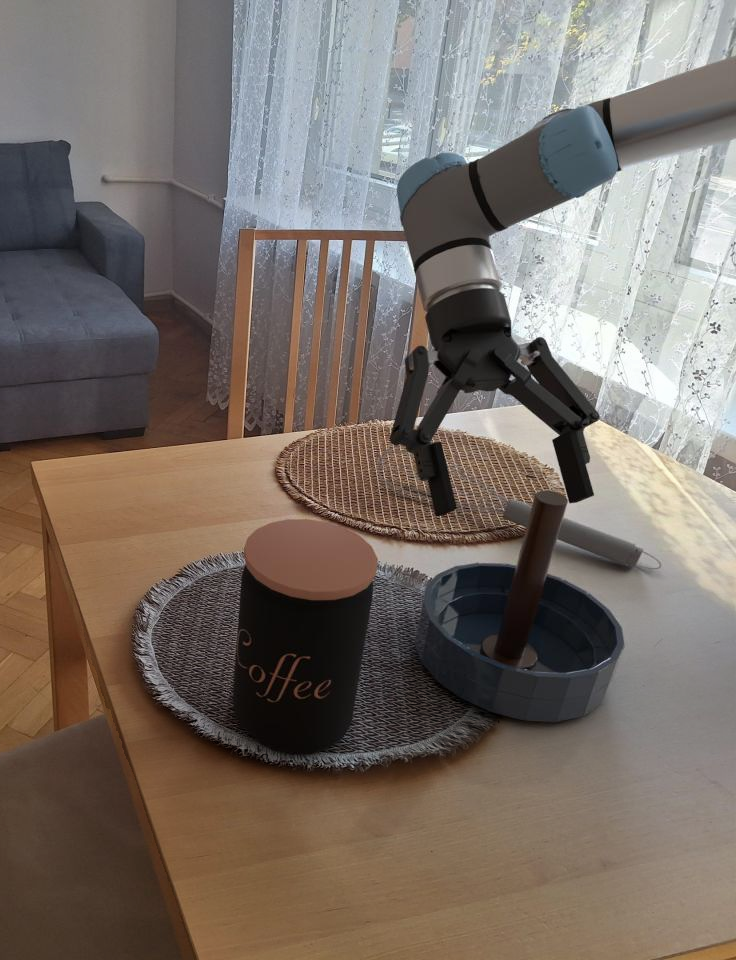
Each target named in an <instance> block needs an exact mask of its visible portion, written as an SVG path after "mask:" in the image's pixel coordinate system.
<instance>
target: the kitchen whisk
mask: <svg viewBox="0 0 736 960" xmlns="http://www.w3.org/2000/svg"><path fill="white" fill-rule="evenodd" d="M398 447H405V446H404V445H398V446H395V445H393V446H391V447H390V448H388V449H385V451H384V452H383V453H382V455H381V457H380V458H378V459H377V460H376V461H377V464H376V467H375V469H376V472H377V476H378V477H379V478H380V480H381V482H383V483H384V484H385V485H386V486H387V487H388V488H389V489H390V490H392V491H394V492H395V493H397V494H399V495H401V496H404V497H407V498H408V499H412V500H414V501H418V502H421V503H424V504H427V505H428V504H429V505H432V506H433V502H427V501H425V500H420V499H416V498H414V497H411V496H408V495H406V494H403V493H401V492H399V491H398V490H401V491H404V492H406V493H408V494H411V495H414V496H418V497H421V498H425V499H427V500H428V499H429V500H432V498H431V497H428V496H431V493H430V492H429V493H428V492H425V491H422V490H419V489H417V488H414V487H412V486H409V485H407V484H405V483H403V482H401V481H399V480H398V479H396V478H395V477H393V476H391V475H390V474H389V473H388V472H387V470H386V469H385V468H384V466H386V467H388V468H390V469H392V470H395V471H398V472H400V473H402V474H405V475H408V476H411V477H414V478H416V479H418V480H421V479H420V478H419V476H417V475H413V474H411V473H408V472H405V471H403V470H400V469H398V468H395V467H394V466H391V465H388V464H387V463H384V462H388V463H391V464H393V465H398V466H401V467H403V468H407V469H408V470H412V471H414V472H417V469H415V468H412V467H409V466H406V465H404V464H401V463H397V462H394V461H391V460H387V459H384V458H385V457H386V456H387V455H388V454H393V453H399V454H403V455H407V456H410V457H413V458H414V454H412V453H409V452H408V451H407V450H391V449H394V448H398ZM445 460H446V462H448V463H449V464H451V465H453V466H455V467H456V468H458V469H460V470H461V471H463V472H465V473H466V474H468V475H469V476H468V475H466V474H465V473H463V472H461V471H460V470H457V469H456V468H453V467H452V466H450V465H448V464H447V468H449V469H451V470H453V471H455V472H457V473H458V474H461V475H462V476H464V477H466V478H467V479H469V480H471V481H473V482H474V483H475V484H474V483H473V482H471V481H469V480H467V479H465V478H463V477H462V476H460V475H458V474H456V473H454V472H452V471H450V470H448V472H449V474H452V475H454V476H456V477H457V478H459V479H461V480H463V481H465V482H466V483H469V484H470V485H472V486H474V487H476V488H477V489H479V490H481V491H482V492H485V493H487V494H488V495H490V496H492V497H493V498H495V499H496V500H498V501H500V502H502V503H503V504H501V503H499V502H497V501H495V500H493V499H489V498H487V497H485V496H482V495H481V494H478V493H476V492H473V491H470V490H468V489H465V488H463V487H461V486H459V485H456V484H454V483H451V485H452V487H456V488H459V489H461V490H463V491H466V492H467V493H471V494H473V495H475V496H478V497H480V498H478V497H475V496H472V495H469V494H466V493H463V492H461V491H458V490H455V489H453V492H455V493H458V494H461V495H463V496H465V497H469V498H473V499H474V500H478V501H480V502H484V503H487V504H490V505H493V506H494V507H495V506H496V507H497V508H501V509H495V508H490V507H486V506H481V505H475V504H472V503H471V504H470V503H466V502H461V501H457V500H455V502H456V506H459V508H458V507H457V509H456V510H460V511H467V512H475V513H486V514H498V515H502V519H503V520H506V521H509V522H511V523H514V524H516V525H518V526H522V527H524V528H526V527H527V523H528V520H529V516H530V512H531V508H532V504H529V503H525V502H523V501H521V500H517V499H515V498H510V500H508V499H506V498H505V497H503V496H502V495H501V494H499V493H498V492H497V491H495V489H493V488H492V487H490V486H489V485H488V484H486V483H485V482H484V481H482V480H480V479H479V478H477V477H476V476H475V475H473V474H472V473H470V472H468V471H467V470H465V469H464V468H462V467H460V466H458V465H457V464H455V463H453V462H452V461H450V460H448V459H446V458H445ZM383 461H384V462H383ZM380 468H382V470H383V471H384V472H385V473H386V475H387V476H388V477H390V478H391V479H393V480H394V481H396V482H397V483H399V484H401V485H403V486H405V487H407V488H410V489H412V490H415V491H417V492H419V493H421V494H425V495H428V496H424V495H420V494H417V493H414V492H411V491H408V490H405V489H403V488H400V487H398V486H397V485H395V484H393V483H390V482H388V481H387V480H386V479H384V477H382V475H381V472H380ZM470 476H471V477H473V478H474V479H473V478H471V477H470ZM476 480H477V481H476ZM426 482H427V483H428V481H426ZM479 482H480V483H479ZM476 484H477V485H476ZM478 485H479V486H478ZM391 486H392V487H391ZM480 486H481V487H483V488H484V489H483V488H481V487H480ZM394 488H395V489H394ZM396 489H398V490H396ZM481 498H482V499H481ZM486 500H487V501H486ZM504 504H505V505H504ZM460 507H464V508H460ZM465 508H470V509H465ZM475 509H476V510H475ZM502 509H504V510H502ZM557 541H560V542H563V543H565V544H568V545H571V546H573V547H575V548H579V549H581V550H584V551H586V552H587V553H592V554H594V555H596V556H599V557H601V558H603V559H606V560H609V561H612V562H614V563H617V564H620V565H622V566H626V565H627V566H630V567H632V568H636V567H638V568H643V569H647V570H660V568H661V567H662V563H661V561H659V560H658V559H657V558H656V557H654V555H651V554H649V553H647V552H646V551H644V548H642V547H639V546H636V544H635V543H634V542H631V541H628V540H626V539H623V538H621V537H617V536H614V535H612V534H610V533H606V532H605V531H604V532H603V531H601V530H598V529H595V528H593V527H590V526H587V525H584V524H583V523H579V522H577V521H574V520H571V519H568V518H566V517H563V520H562V524H561V527H560V531H559V534H558V538H557ZM643 553H644V554H645V555H647V556H649V557H650V558H652V559H654V560H655V561H656V562H657V563H658V564H659V566H658V567H646V566H642V565H638V562H639V560H640V559H641V556H642V554H643Z"/></svg>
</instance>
